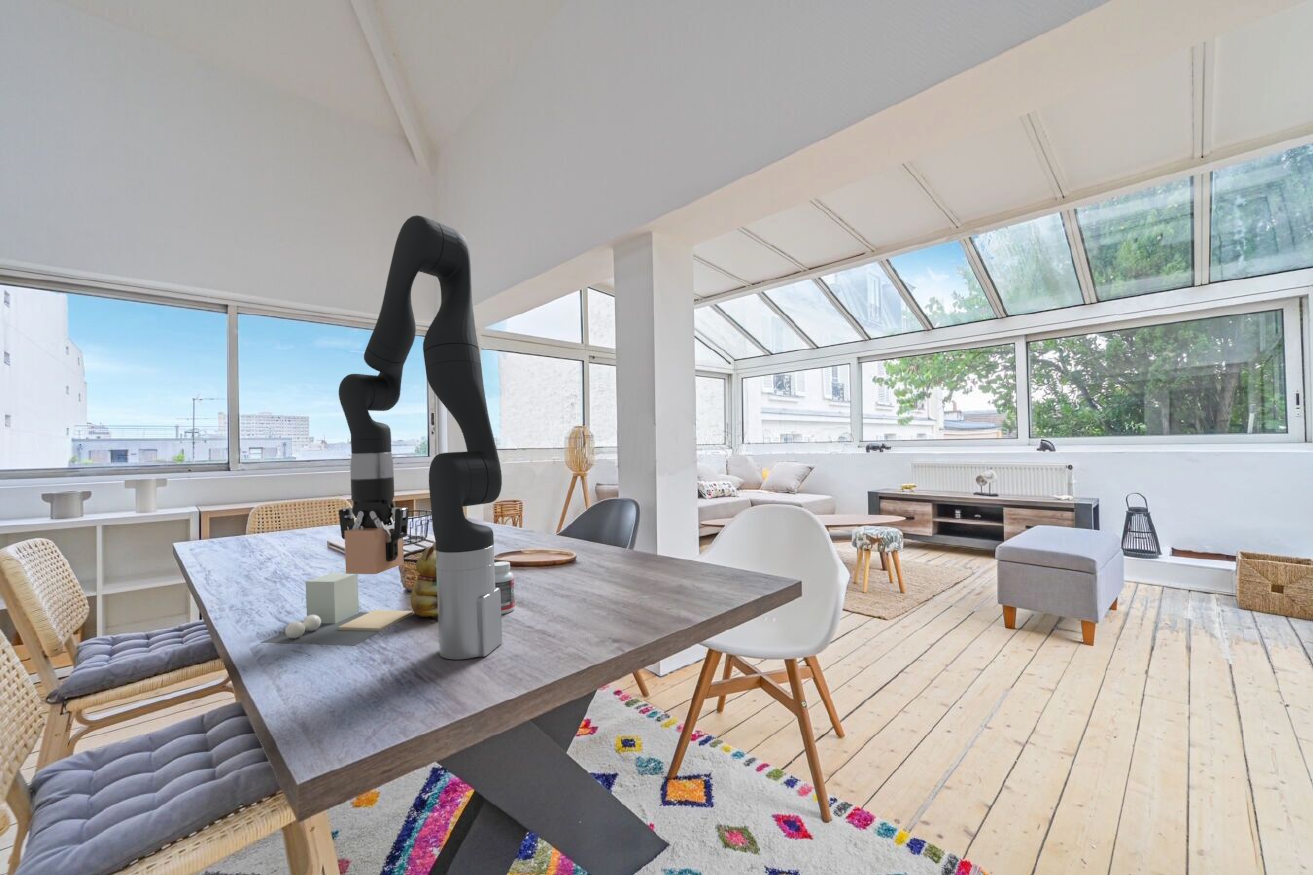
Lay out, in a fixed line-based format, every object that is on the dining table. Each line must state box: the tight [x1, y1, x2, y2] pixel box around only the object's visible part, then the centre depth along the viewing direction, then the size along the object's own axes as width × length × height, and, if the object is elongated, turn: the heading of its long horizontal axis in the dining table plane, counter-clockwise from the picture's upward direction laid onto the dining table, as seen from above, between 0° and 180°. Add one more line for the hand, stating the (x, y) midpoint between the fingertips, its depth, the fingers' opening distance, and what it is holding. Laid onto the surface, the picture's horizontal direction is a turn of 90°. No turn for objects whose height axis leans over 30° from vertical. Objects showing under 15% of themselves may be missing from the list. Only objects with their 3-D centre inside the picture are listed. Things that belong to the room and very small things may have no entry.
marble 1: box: [284, 620, 305, 639], centre depth 97 cm, size 3×3×3 cm
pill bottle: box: [494, 561, 516, 615], centre depth 110 cm, size 5×5×10 cm
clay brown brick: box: [344, 524, 405, 575], centre depth 105 cm, size 6×8×8 cm
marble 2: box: [302, 615, 321, 631], centre depth 101 cm, size 3×3×3 cm
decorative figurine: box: [410, 542, 438, 620], centre depth 109 cm, size 10×8×15 cm
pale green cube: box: [305, 572, 360, 623], centre depth 108 cm, size 6×6×8 cm
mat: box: [260, 609, 416, 647], centre depth 102 cm, size 19×17×1 cm
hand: (375, 560), depth 105 cm, fingers closed on clay brown brick, 6 cm apart
